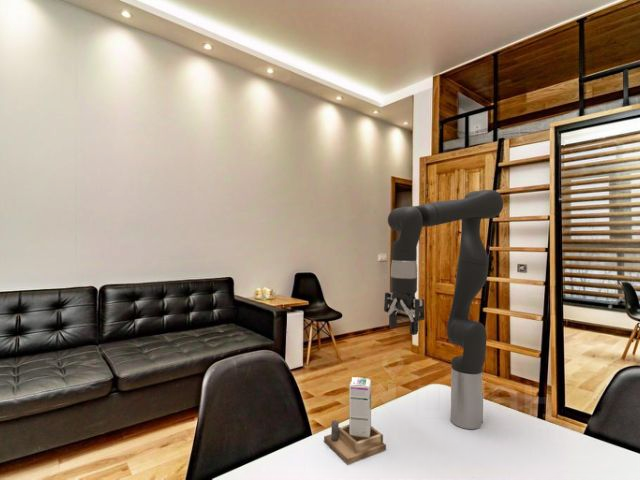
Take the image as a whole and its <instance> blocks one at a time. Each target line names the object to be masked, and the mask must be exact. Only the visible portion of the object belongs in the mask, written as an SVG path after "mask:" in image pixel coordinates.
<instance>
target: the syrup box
mask: <svg viewBox="0 0 640 480" xmlns="http://www.w3.org/2000/svg"><path fill="white" fill-rule="evenodd" d="M348 388H349V392H348V393H349V395H348V396H349V399H348V400H349V401H348V402H349V409H348V410H349V414H348V415H349V418H348V419H349V421H348V422H349V424H348V425H349V434H350V435H352V436H358V437H368V438H369V436H370V431H371V426H372V378H368V377H360V376H359V377H356V376H355V377H353V376H351V380H350V382H349V385H348Z"/></svg>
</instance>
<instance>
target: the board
mask: <svg viewBox="0 0 640 480" xmlns="http://www.w3.org/2000/svg"><path fill="white" fill-rule="evenodd" d="M339 423H340V422H339V420H336V419H335V420H332V421H331V434H328V435H325V436H324V437H323V442H324V443H325V445H326V446H328V447H329V448H330V449H331V450H332V451H333V452H334V453H335V454H336V455H337V456H338V457H339V458H340V459H341V460H343V462H344V463H345V464H347V465H350V464H353V463H355V462H358V461H360V460H365V459H366V458H369V457H371V456H375V455H377V454H381V453H382V452H385V451H386V450H387V444H386V443H384V434H383V433H381V432H380V431H378V430H377V429H376V428H374V427H373V426H372V425H371V431H370V436H369V438H368V437H358V436H352V435H350V434H349V424H346V425H342V426H340V427H339Z"/></svg>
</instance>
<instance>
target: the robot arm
mask: <svg viewBox="0 0 640 480" xmlns="http://www.w3.org/2000/svg"><path fill="white" fill-rule="evenodd" d="M503 209H504V200H503V197H502V195H501V194H500V193H499V192H498V191H496V190H493V189H483V190H476V191H471V192H470V191H469V192H468V193H467V194H466V195H464V198H458V199H448V200H440V201H439V200H438V201H434V202H432V201H431V202H427V203H423V204H420V205H412V206H403V207H397V208H394V209H392V210H391V211H390V212H389V214H388V216H387V224H388V226H389V227H390V228H391V229H392V230H394V231H396V232H400V235H399V237H398V239H397V240H395V241H393V243H392V245H391V246H392V247H391V266H390V291H391V292H390V291H389V292H385V293H384V301H383V302H384V303H383V304H384V306H383V311H384V312H385V313H387V314H388V325H389V328H390V329H395V328H397V325H398V324H397V323H398V315H397V313H398V312H399V311H402V312H405V314H406V316H408V317H409V320H410V322H409V335H411V336H415V335H417V334H418V333H419V322H420V321H421V322H422V321H424V320H425V299H424V298H416V293H417V292H418V264H417V262H418V261H417V260H418V258H417V257H418V253H417V252H418V250H417V249H418V244H419V242H420V237H421V234H422V230H423V228H424V227H425V228H427V227H428V228H429V227H434V226H439V225H444V224H448V223H451V222H452V223H453V222H456V221H457V222H458V221H461V229H460V230H461V233H460V245H459V251H458V252H459V255H458V260H457V265H456V266H457V267H456V277H455V285H454V290H453V291H454V292H453V298H452V303H451V309H450V312H449V318H448V321H447V325H446V336H447V339H448V340H449V342H450V343H451V344H452V345H455V346H459V347H460V348H463V350H462V355H458V356H453V357H452V359H451V368H450V369H451V370H450V371H451V372H450V375H451V376H450V413H449V415H450V421H451V423H452V424H454V425H455V426H457V427H460V428H461V429H465V430H477V429H479V428H481V426H482V423H483V422H484V421H483V420H484V393H483V367H484V364H485V360H486V353H487V329H486V326H484V324H483V323H481V322H480V321H476V320H474V319H470V317H469V316H470V310H471V305H472V303H473V301H474V299H475V298H476V297H477V295H478V294H479V293H480V291H481V290H482V289H483V287H484V286H485V284H486V282H487V280H488V279H487V278H488V272H489V263H490V262H489V256H488V252H487V250H486V248H485V244H484V243H483V241H482V238H481V237H482V236H481V223H482V220H484V219H485V220H486V219H488V220H489V219H493V218H496V217H497V216H498V215H500V214H501V213H502V211H503Z"/></svg>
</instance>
